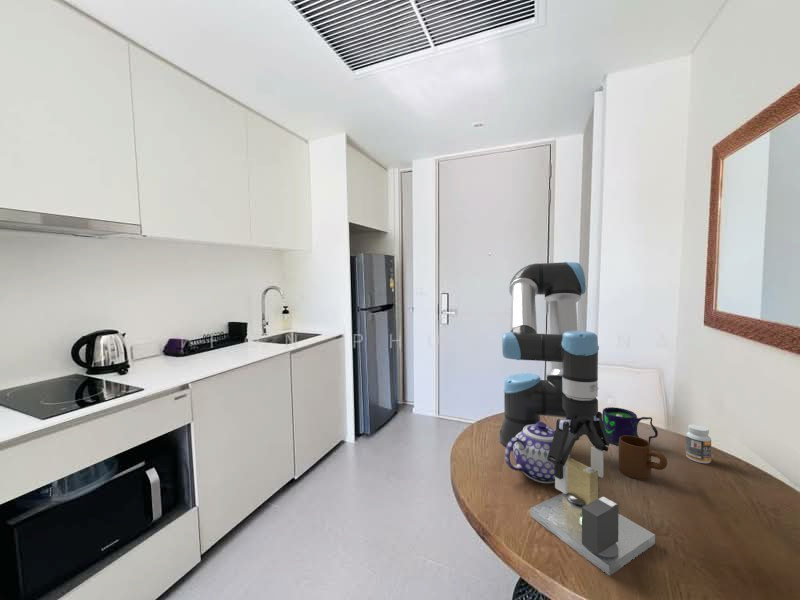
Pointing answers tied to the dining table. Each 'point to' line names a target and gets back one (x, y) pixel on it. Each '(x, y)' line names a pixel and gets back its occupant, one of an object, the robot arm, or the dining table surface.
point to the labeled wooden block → (581, 483)
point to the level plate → (568, 527)
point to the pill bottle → (698, 444)
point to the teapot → (533, 452)
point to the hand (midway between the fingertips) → (579, 482)
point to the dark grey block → (600, 527)
